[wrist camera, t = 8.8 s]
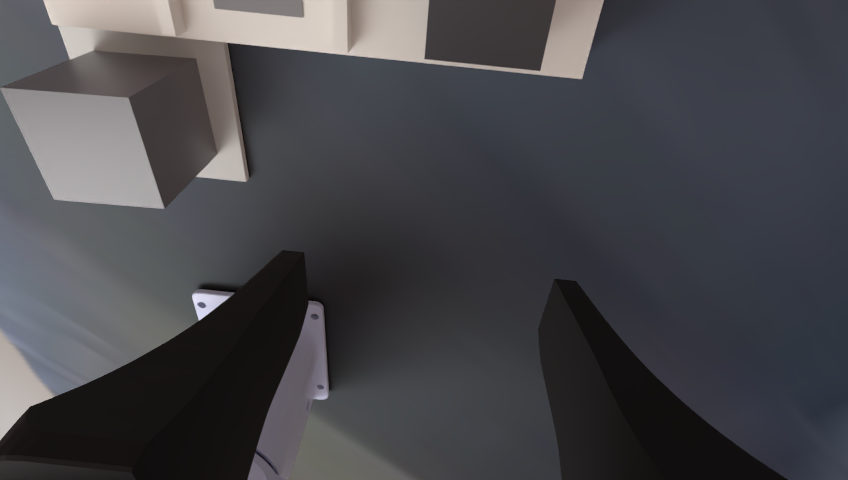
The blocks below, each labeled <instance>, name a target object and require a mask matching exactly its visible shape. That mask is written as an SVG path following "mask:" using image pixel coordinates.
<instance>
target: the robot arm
mask: <svg viewBox="0 0 848 480" xmlns="http://www.w3.org/2000/svg"><path fill="white" fill-rule="evenodd" d="M192 298H193V302H194V305H195V309H196V312H197V316H198V319H199V321H198V322H197V323H195V324H194V325H192V326H191V327H189V328H188V329H186V330H185V331H183V332H182V333H180V334H179V335H177V336H176V337H174V338H172V339H171V340H169V341H168V342H166V343H164V344H162V345H161V346H159V347H157V348H155V349H154V350H152V351H150V352H148V353H146V354H145V355H143V356H141V357H139V358H138V359H136V360H134V361H132V362H130V363H128V364H126V365H124V366H122V367H120V368H118V369H116V370H114V371H112V372H110V373H108V374H106V375H104V376H102V377H100V378H98V379H95V380H93V381H91V382H89V383H87V384H84V385H82V386H80V387H78V388H75V389H73V390H70V391H68V392H65V393H63V394H61V395H58V396H56V397H53V398H51V399H49V400H46V401H44V402H41V403H39V404H36V405H33V406H31V407H29V409H28V410H27V411H26V412H25V413H24V414H23V415H22V416H21V417H20V418H19V419H18V420H17V422H16V423H15V424H14V425H13V426H12V428H11V429H10V430H9V431H8V432H7V433H6V434H5V436H4V437H3V438H2V439H1V440H0V480H288V478H289V476H290V474H291V471H292V469H293V465H294V462H295V459H296V455H297V452H298V449H299V445H300V442H301V439H302V435H303V432H304V429H305V425H306V422H307V418H308V415H309V412H310V408H311V405H312V402H313V399H326V398H328V394H329V383H328V368H327V352H326V337H325V321H324V308H323V305H322V304H321V303H319V302H316V301H308V291H307V280H306V269H305V258H304V252H294V251H285V250H283V251H281V252H280V253H279V254H278V255H277V256H276V257H275V258H273V259H272V260H271V261H270V262H269V263H268V264H267V265H266V266H265V267H264V268H263V269H261V270H260V271H259V272H258V273H257V274H256V275H255V276H254V277H253V278H251V279H250V280H249V281H248V282H247V283H246V284H245V285H243V286H242V287H241V288H240V289H239V290H238V291H236V292H235V293H233V292H223V291H214V290H205V289H197V290H196V291H195V292H194V294H193V295H192ZM314 314H317V315H314ZM538 332H539V347H540V358H541V365H542V370H543V375H544V379H545V384H546V389H547V394H548V398H549V403H550V407H551V412H552V417H553V421H554V426H555V431H556V436H557V442H558V448H559V457H560V466H561V475H562V480H787V479H786V478H784V477H783V476H781V475H780V474H778V473H777V472H775V471H774V470H772V469H771V468H769V467H768V466H766V465H764V464H763V463H761V462H760V461H758V460H757V459H755V458H754V457H753V456H751V455H750V454H748V453H747V452H746V451H744V450H743V449H741V448H740V447H739V446H737V445H736V444H735V443H733V442H732V441H730V440H729V439H728V438H726V437H725V436H724V435H722V434H721V433H720V432H719V431H717V430H716V429H715V428H713V427H712V426H711V425H710V424H708V423H707V422H706V421H705V420H703V419H702V418H701V417H700V416H699V415H697V414H696V413H695V412H694V411H693V410H691V409H690V408H689V407H688V406H687V405H686V404H684V403H683V402H682V401H681V400H680V399H679V398H678V397H677V396H675V395H674V394H673V393H672V392H671V391H670V390H669V389H668V388H667V387H666V386H665V385H664V384H663V383H662V382H661V381H660V380H659V379H658V378H656V377H655V376H654V375H653V374H652V373H651V372H650V371H649V370H648V368H647V367H646V366H645V365H644V364H643V363H642V362H641V361H640V360H639V359H638V358H637V357H636V356H635V354H634V353H633V352H632V351H631V350H630V349H629V348H628V347H627V345H626V344H625V343H624V342H623V341H622V340H621V338H620V337H619V336H618V335H617V334H616V332H615V331H614V330H613V329H612V328H611V326H610V325H609V324H608V323H607V321H606V320H605V319H604V317H603V316H602V315H601V314H600V312H599V311H598V310H597V308H596V307H595V306H594V304H593V303H592V302H591V300H590V299H589V298H588V296H587V295H586V294H585V292H584V291H583V290H582V288H581V287H580V286H579V284H578V283H577V282H576V281H570V280H560V279H554V282H553V285H552V288H551V291H550V294H549V298H548V301H547V304H546V307H545V310H544V313H543V316H542V319H541V322H540V325H539V328H538Z"/></svg>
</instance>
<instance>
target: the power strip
mask: <svg viewBox="0 0 848 480" xmlns="http://www.w3.org/2000/svg"><path fill="white" fill-rule="evenodd" d="M43 1H44V3H45V6H46V9H47V12H48V14H49V17H50V20H51V23H52V25H60V26H70V27H80V28H90V29H99V30H109V31H119V32H128V33H138V34H148V35H158V36H167V37H177V38H187V39H196V40H206V41H216V42H226V43H235V44H245V45H255V46H264V47H274V48H284V49H293V50H303V51H313V52H323V53H332V54H342V55H352V56H361V57H371V58H381V59H391V60H400V61H410V62H420V63H429V64H439V65H449V66H458V67H468V68H478V69H488V70H497V71H507V72H517V73H526V74H536V75H546V76H556V77H565V78H575V79H582V77H583V73H584V70H585V66H586V63H587V59H588V55H589V52H590V48H591V45H592V41H593V38H594V34H595V30H596V27H597V23H598V20H599V16H600V13H601V9H602V5H603V2H604V0H43Z"/></svg>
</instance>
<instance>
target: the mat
mask: <svg viewBox="0 0 848 480" xmlns="http://www.w3.org/2000/svg"><path fill="white" fill-rule="evenodd" d="M58 27H59V30H60V33H61V35H62V38H63V41H64V44H65V47H66V49H67V52H68V55H69V58H70V60H71V59H73V58H76V57H78V56H81V55H83V54H86V53H88V52H91V51H105V52H118V53H131V54H144V55H157V56H170V57H183V58H196V61H197V65H198V70H199V74H200V78H201V83H202V87H203V92H204V96H205V101H206V105H207V109H208V114H209V118H210V123H211V127H212V132H213V136H214V140H215V145H216V149H217V155H216V156H215V158H214V159H213V160H212V161H211V162H210V163H209V164H208V165H207V166H206V167H205V168H204V169H203V170H202V171H201V172H200V173H199V174H198V175H197V176H196V177H204V178H214V179H223V180H233V181H242V182H247V180H248V179H249V174H248V168H247V162H246V155H245V149H244V143H243V137H242V130H241V124H240V118H239V112H238V105H237V99H236V93H235V87H234V80H233V74H232V68H231V62H230V55H229V49H228V43H226V42H216V41H206V40H196V39H187V38H177V37H167V36H158V35H148V34H138V33H128V32H119V31H109V30H99V29H90V28H80V27H70V26H60V25H58Z"/></svg>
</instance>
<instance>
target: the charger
mask: <svg viewBox="0 0 848 480" xmlns="http://www.w3.org/2000/svg"><path fill="white" fill-rule="evenodd" d="M0 89H1V91H2V93H3V95H4V97H5V99H6V101H7V103H8V105H9V107H10V109H11V112H12V114H13V116H14V118H15V120H16V122H17V124H18V126H19V128H20V130H21V132H22V134H23V136H24V138H25V141H26V143H27V145H28V147H29V149H30V151H31V153H32V155H33V157H34V159H35V161H36V163H37V165H38V167H39V169H40V172H41V174H42V176H43V178H44V180H45V182H46V184H47V186H48V188H49V190H50V192H51V194H52V196H53V198H54V200H64V201H76V202H88V203H100V204H112V205H124V206H136V207H148V208H160V209H165V208H166V207H167V206H168V205H169V204H170V203H171V202H172V201H173V200H174V199H175V198H176V196H177V195H178V194H179V193H180V192H181V191H182V190H183V189H184V188H185V187H186V186H187V185H188V184H189V183H190V182H191V181H192V180H193V179H194V178H195V177H196V176H197V175H198V174H199V173H200V172H201V171H202V170H203V169H204V168H205V167H206V166H207V165H208V164H209V163H210V162H211V161H212V160H213V159H214V158H215V156H216V155H217V149H216V145H215V140H214V136H213V132H212V127H211V123H210V118H209V114H208V109H207V105H206V101H205V96H204V92H203V87H202V83H201V78H200V74H199V70H198V65H197V61H196V58H183V57H170V56H157V55H144V54H131V53H118V52H105V51H91V52H88V53H86V54H83V55H81V56H78V57H76V58H73V59H71V60H68V61H66V62H63V63H61V64H58V65H56V66H53V67H51V68H48V69H46V70H43V71H41V72H38V73H36V74H33V75H30V76H28V77H25V78H23V79H20V80H18V81H15V82H13V83H10V84H8V85H5V86H3V87H0Z"/></svg>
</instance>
